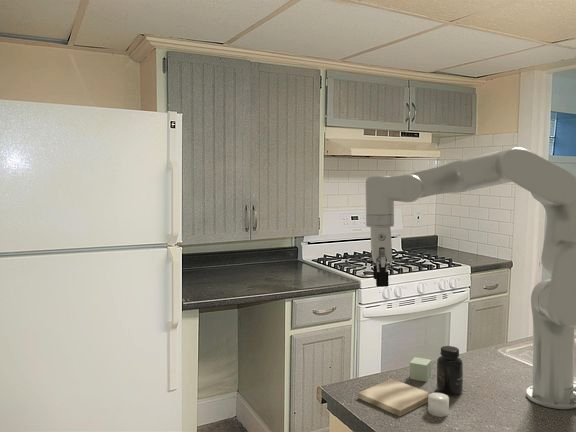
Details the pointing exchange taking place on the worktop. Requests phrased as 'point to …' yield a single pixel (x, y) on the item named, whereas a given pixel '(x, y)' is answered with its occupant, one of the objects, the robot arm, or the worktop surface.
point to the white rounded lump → (438, 404)
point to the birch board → (395, 396)
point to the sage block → (420, 369)
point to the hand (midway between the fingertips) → (380, 282)
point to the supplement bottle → (449, 371)
